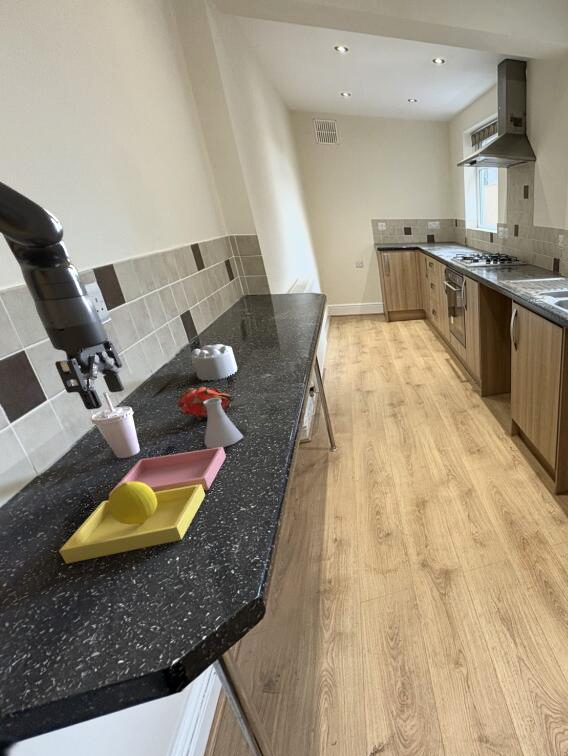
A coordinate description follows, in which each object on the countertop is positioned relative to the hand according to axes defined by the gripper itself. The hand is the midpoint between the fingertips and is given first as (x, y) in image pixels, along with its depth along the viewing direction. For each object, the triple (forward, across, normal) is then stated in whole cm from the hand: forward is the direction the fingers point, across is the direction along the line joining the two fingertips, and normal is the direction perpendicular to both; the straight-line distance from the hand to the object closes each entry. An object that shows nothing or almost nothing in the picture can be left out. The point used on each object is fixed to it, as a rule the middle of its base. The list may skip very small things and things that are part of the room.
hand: (106, 399), depth 82 cm
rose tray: (+13, +14, +13) cm, 23 cm away
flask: (+13, +1, +18) cm, 22 cm away
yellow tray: (+13, +28, +13) cm, 33 cm away
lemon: (+12, +28, +13) cm, 33 cm away
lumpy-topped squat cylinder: (+13, -49, +4) cm, 51 cm away
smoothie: (+13, 0, 0) cm, 13 cm away
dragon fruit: (+13, -15, +11) cm, 23 cm away
